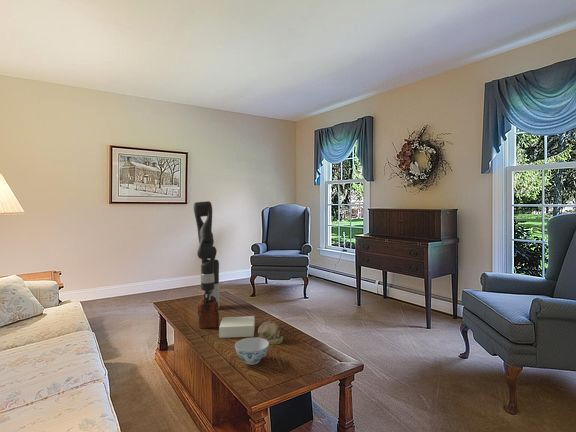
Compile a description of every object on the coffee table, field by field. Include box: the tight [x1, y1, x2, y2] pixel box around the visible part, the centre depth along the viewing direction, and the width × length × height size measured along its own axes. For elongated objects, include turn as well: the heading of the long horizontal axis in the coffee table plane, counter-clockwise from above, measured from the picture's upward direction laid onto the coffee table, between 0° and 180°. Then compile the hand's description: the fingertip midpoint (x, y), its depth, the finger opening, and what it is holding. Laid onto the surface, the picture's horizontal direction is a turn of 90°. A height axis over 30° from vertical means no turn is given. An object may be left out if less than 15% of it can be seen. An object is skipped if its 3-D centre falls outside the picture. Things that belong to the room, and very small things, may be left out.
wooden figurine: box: [197, 296, 220, 329], centre depth 193 cm, size 12×6×18 cm, turn 99°
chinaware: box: [234, 337, 270, 366], centre depth 149 cm, size 15×15×8 cm
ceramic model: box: [257, 320, 284, 345], centre depth 173 cm, size 14×11×10 cm
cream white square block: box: [218, 315, 256, 339], centre depth 185 cm, size 16×18×6 cm
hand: (208, 309), depth 193 cm, fingers open, 8 cm apart
